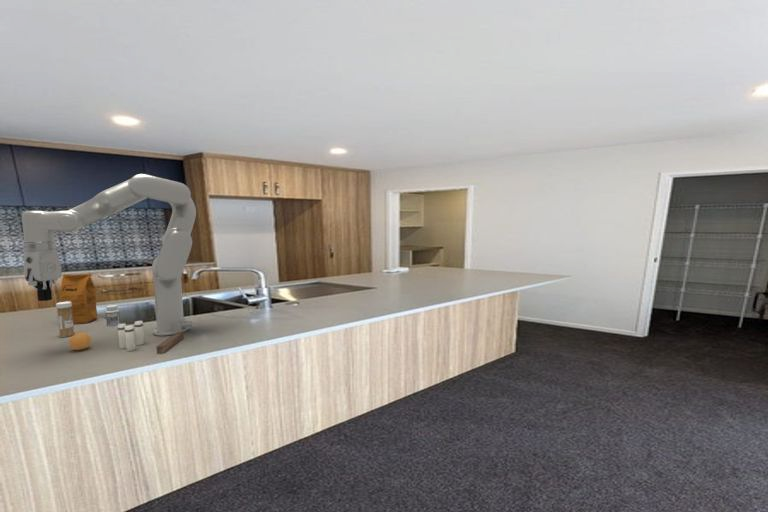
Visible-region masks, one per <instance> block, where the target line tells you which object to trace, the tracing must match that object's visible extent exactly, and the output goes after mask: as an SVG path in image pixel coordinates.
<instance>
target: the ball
mask: <svg viewBox="0 0 768 512" xmlns="http://www.w3.org/2000/svg"><path fill="white" fill-rule="evenodd" d="M91 343H92V337H91V336H90V334H88V333H87V332H78V333H74V335H72V336H70V338H69V340H68V345H69V347H70V348H71V349H72V350H75V351H82V350H85V349H87V348H88V347H89V346H90V345H91Z"/></svg>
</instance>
